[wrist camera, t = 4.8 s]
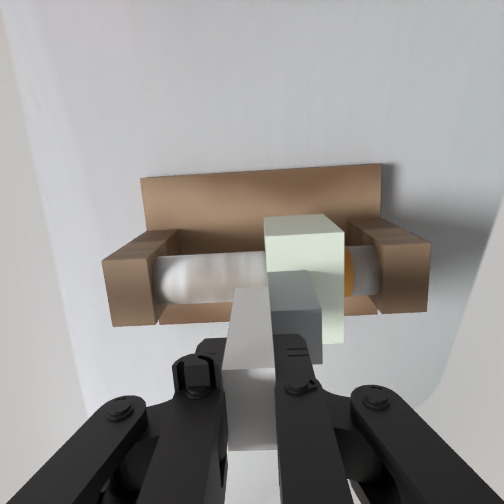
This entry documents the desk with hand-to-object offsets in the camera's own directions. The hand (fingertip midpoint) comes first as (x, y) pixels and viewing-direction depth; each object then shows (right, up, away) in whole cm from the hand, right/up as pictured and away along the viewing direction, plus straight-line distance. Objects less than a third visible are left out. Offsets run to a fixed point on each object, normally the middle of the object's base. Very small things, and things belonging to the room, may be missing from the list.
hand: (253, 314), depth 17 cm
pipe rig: (+1, +3, +13) cm, 14 cm away
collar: (+3, +2, +9) cm, 9 cm away
